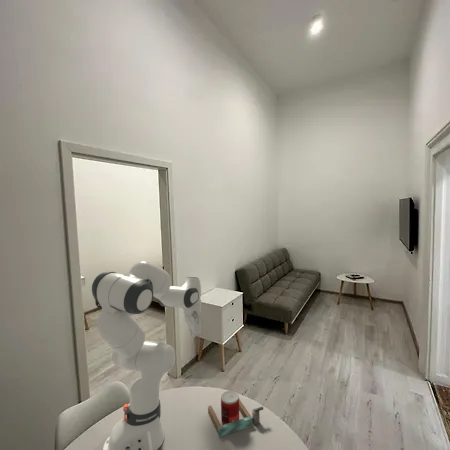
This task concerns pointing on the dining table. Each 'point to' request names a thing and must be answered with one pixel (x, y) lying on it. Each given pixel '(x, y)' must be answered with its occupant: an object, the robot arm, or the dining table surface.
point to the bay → (238, 424)
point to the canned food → (229, 407)
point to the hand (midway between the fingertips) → (193, 336)
